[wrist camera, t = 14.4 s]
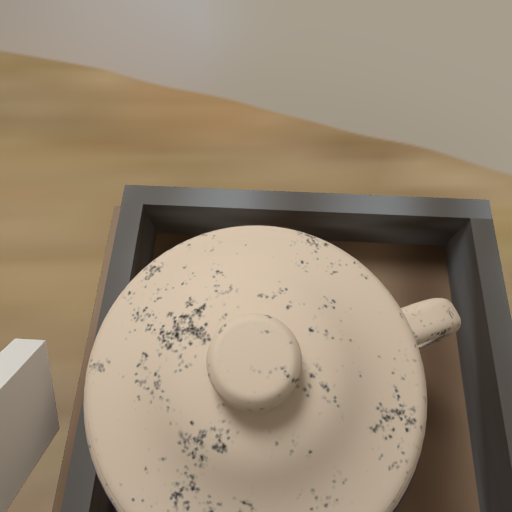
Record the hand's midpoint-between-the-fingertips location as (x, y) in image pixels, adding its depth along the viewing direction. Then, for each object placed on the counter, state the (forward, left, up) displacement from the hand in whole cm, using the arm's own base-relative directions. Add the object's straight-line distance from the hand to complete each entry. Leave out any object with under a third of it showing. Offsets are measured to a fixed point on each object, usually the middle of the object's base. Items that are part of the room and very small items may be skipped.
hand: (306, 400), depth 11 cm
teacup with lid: (0, -1, -9) cm, 9 cm away
